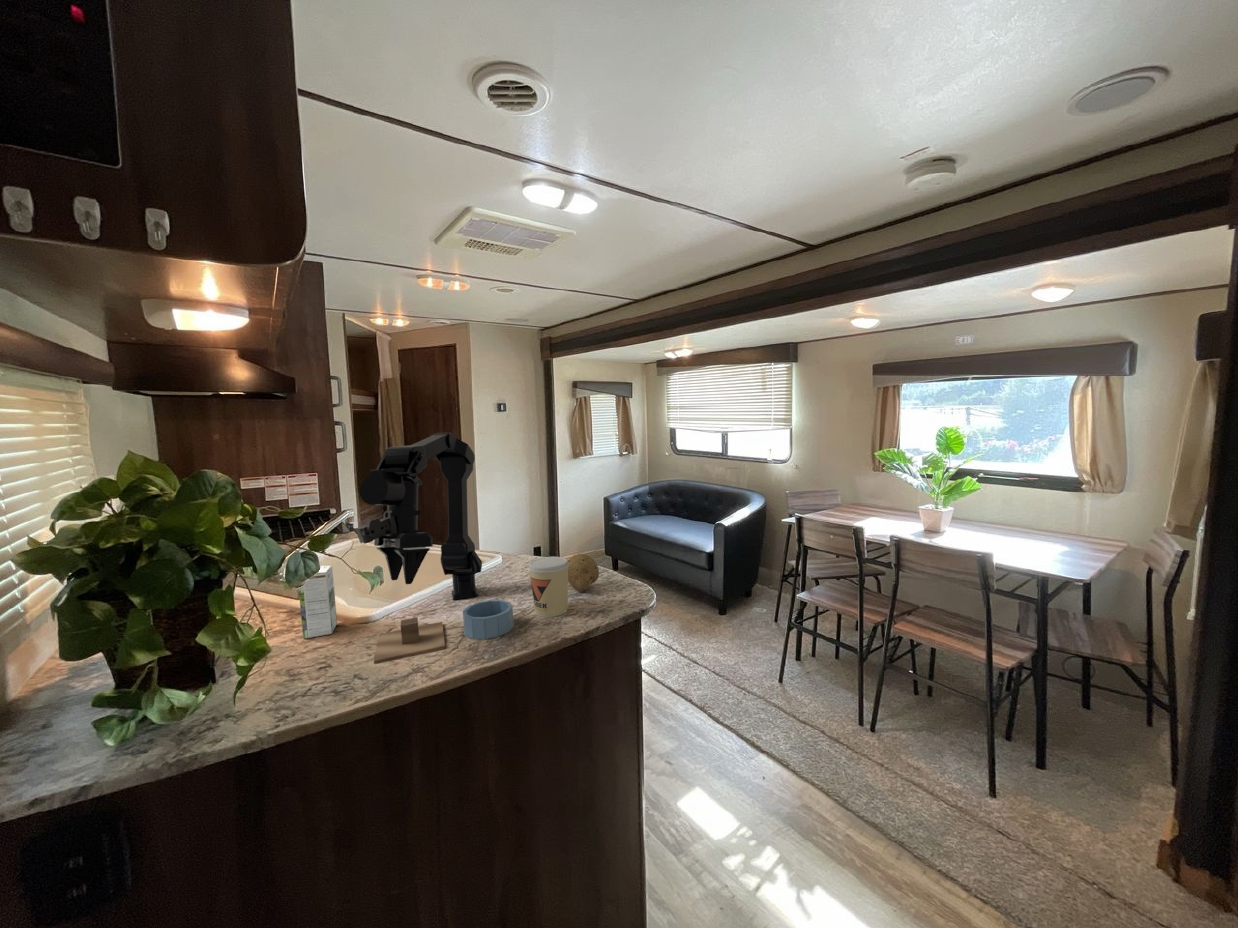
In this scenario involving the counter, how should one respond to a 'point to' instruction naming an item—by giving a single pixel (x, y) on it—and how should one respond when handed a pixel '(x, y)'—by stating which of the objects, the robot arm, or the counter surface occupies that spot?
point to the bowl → (488, 619)
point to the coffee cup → (549, 585)
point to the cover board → (411, 649)
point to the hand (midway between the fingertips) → (401, 582)
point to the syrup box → (318, 604)
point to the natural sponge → (582, 571)
